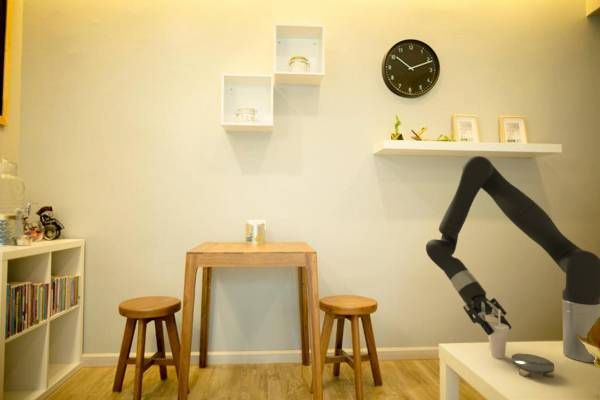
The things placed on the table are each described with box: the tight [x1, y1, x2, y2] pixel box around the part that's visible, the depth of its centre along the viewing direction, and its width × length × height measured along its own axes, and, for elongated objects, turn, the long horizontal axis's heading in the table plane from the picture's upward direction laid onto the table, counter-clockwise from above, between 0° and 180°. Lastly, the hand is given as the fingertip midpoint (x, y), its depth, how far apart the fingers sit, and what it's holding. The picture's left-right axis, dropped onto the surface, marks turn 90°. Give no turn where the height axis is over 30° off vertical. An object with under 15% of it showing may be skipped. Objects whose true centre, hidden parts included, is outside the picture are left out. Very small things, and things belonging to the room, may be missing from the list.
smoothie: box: [487, 310, 510, 360], centre depth 110 cm, size 6×6×14 cm
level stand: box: [511, 353, 555, 379], centre depth 99 cm, size 10×10×3 cm
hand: (500, 331), depth 109 cm, fingers open, 8 cm apart
